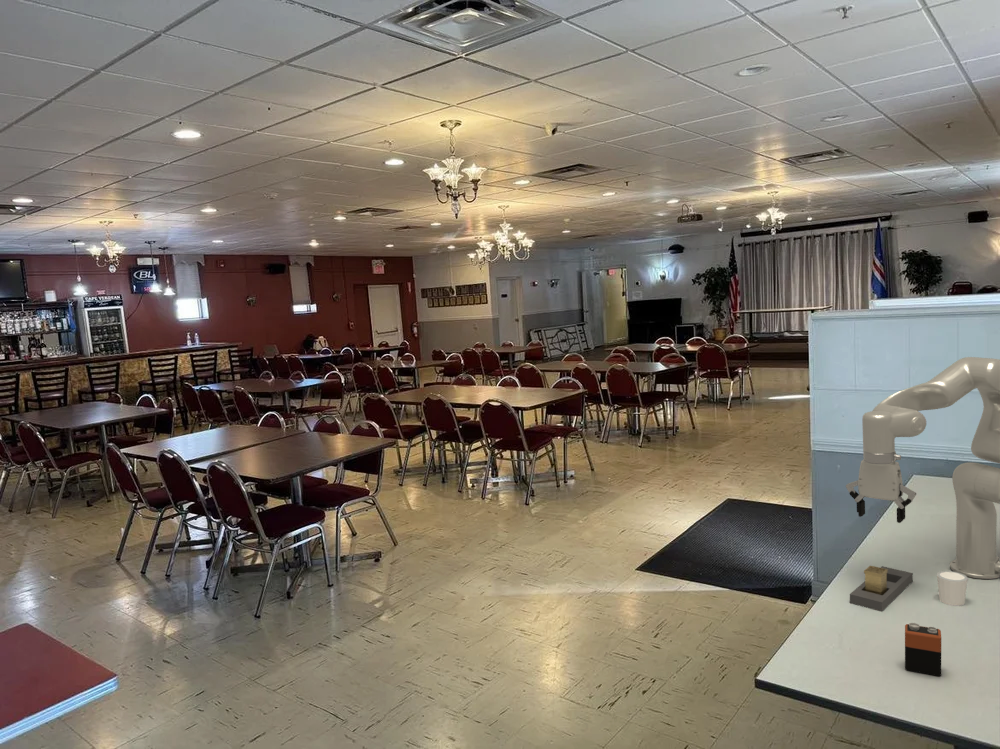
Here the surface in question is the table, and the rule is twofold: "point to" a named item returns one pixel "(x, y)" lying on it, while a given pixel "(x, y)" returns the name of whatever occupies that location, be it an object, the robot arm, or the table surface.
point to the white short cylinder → (952, 587)
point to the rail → (895, 586)
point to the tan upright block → (876, 580)
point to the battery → (922, 649)
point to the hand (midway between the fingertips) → (880, 518)
